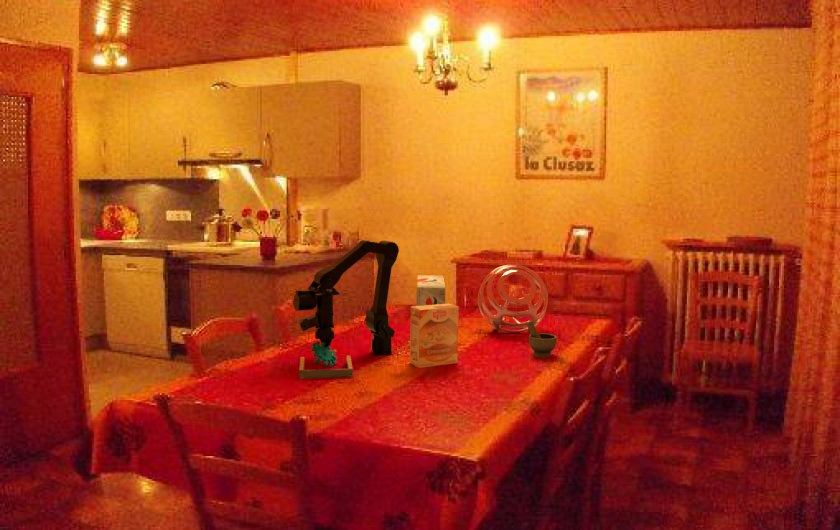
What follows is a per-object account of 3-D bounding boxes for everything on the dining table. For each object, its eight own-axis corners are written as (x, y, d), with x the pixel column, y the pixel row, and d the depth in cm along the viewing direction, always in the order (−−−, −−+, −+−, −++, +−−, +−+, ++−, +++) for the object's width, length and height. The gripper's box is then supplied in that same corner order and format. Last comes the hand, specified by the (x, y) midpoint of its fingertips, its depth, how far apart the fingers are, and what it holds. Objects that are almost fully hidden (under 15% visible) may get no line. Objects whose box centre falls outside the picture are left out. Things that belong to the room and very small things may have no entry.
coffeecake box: (418, 368, 244) (419, 309, 241) (409, 363, 250) (409, 306, 247) (458, 363, 250) (459, 306, 248) (448, 358, 257) (448, 302, 254)
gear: (323, 365, 239) (308, 340, 243) (312, 376, 242) (298, 351, 246) (345, 362, 248) (330, 338, 252) (334, 373, 251) (320, 349, 255)
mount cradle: (350, 363, 249) (350, 355, 249) (352, 377, 232) (352, 369, 232) (300, 364, 247) (300, 357, 247) (299, 378, 230) (299, 371, 230)
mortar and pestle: (559, 354, 264) (560, 320, 263) (552, 360, 256) (553, 325, 254) (528, 350, 269) (529, 317, 267) (520, 356, 260) (521, 322, 259)
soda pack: (445, 318, 325) (445, 287, 323) (415, 318, 325) (416, 286, 323) (443, 301, 365) (443, 273, 364) (417, 301, 366) (417, 273, 364)
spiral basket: (484, 274, 321) (491, 244, 296) (547, 292, 318) (560, 263, 293) (467, 332, 308) (473, 306, 284) (533, 351, 306) (545, 327, 281)
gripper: (301, 303, 259) (301, 347, 261) (299, 314, 241) (299, 361, 243) (333, 303, 260) (333, 346, 262) (334, 313, 242) (334, 360, 244)
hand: (324, 353), depth 253 cm, fingers closed
